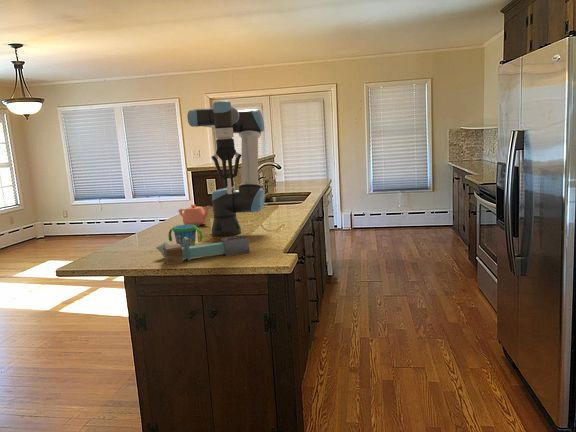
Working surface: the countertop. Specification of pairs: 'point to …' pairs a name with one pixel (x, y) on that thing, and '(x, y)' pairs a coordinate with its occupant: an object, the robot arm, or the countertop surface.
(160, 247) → the robot head
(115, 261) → the countertop surface
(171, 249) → the socket block
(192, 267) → the countertop surface
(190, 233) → the snack cup
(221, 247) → the tube
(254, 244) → the countertop surface
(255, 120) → the robot arm
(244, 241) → the sleeve
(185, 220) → the teapot
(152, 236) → the countertop surface
